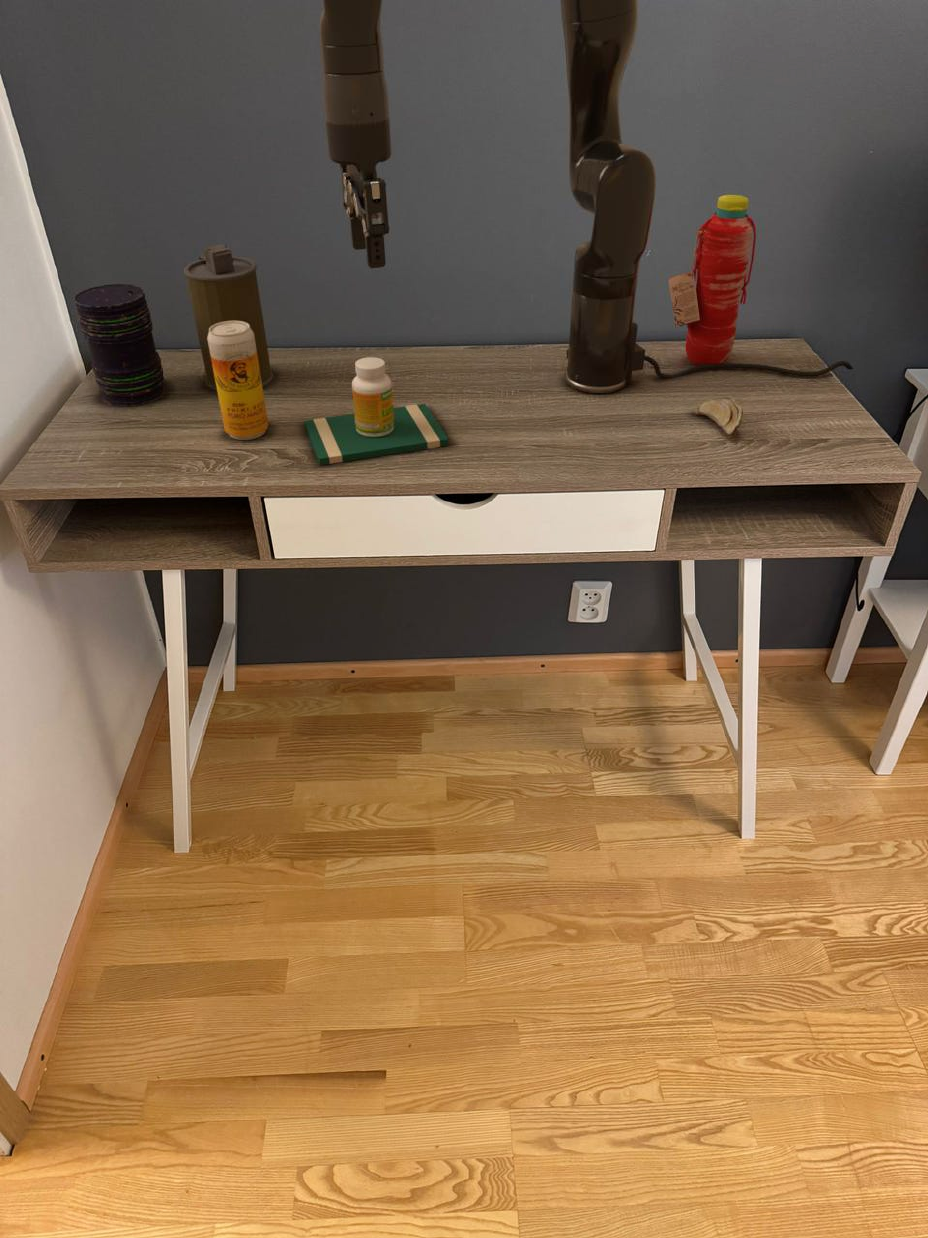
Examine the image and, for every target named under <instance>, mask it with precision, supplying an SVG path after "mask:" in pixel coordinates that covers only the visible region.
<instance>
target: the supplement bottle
mask: <svg viewBox="0 0 928 1238" xmlns="http://www.w3.org/2000/svg"><path fill="white" fill-rule="evenodd" d="M354 369H355V375H356V376H355V377H354V378H353V379H352V382H351V391H352V393H351V394H352V402H353V414H354V415H355V426H356V430H357V432H358V433H359V434H361V435H363V436H366V437H381V436H385V435H388V434H390V433H391V432H392V431H393V429H394V413H393V408H394V400H393V399H394V398H393V384H392V380H391V378H390V376H389V375H388V374H386V362H385V360H384V359H382V358H379V357H375V356H373V357H372V356H369V357H363V358H359V359H357V360H356V361H355V363H354Z"/></svg>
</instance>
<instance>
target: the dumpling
mask: <svg viewBox="0 0 928 1238" xmlns="http://www.w3.org/2000/svg"><path fill="white" fill-rule="evenodd" d="M694 414H696V415H697V416H701V415H703V416H706V417H708V418H709V419H711V420H712V421H714V422H715V423H716V424H717V425H718V426H719V427H721V428H722V430H723V431H724V432H725V434H728V435H729V436H731V437H732V438H734V437H735V435H738V432H737V431H738V430H737V429H739V428H740V426H741V424H742V421H743V417H744V411H743V405H742V404H740V403H738V402H737V401H736V400H735V399H733V398H731V397H717V398H714V399H710V400H709V399H708V400H706V401H704V402H702V403H700V404H698V405H697V406H696V408H695V410H694Z"/></svg>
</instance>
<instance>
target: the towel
mask: <svg viewBox="0 0 928 1238" xmlns="http://www.w3.org/2000/svg"><path fill="white" fill-rule="evenodd" d="M393 413H394V429H393V431H392V432H391V433H390V434H388V435H385V436H381V437H366V436H363V435H361V434H359V433H358V432H357V430H356V426H355V415H354V413H349V414H342V415H334V416H328V417H320V418H313V419H306V420H303V423H304V425H303V426H304V428H305V431H306V433H307V437H308V439H309V441H310V444H311V446H312V448H313V451H314V454H315V456H316V459H317V461H318V465H319V466H324V465H331V464H339V463H344V462H350V461H351V462H352V461H356V460H363V459H369V458H376V457H382V456H389V455H394V454H395V455H396V454H402V453H409V452H415V451H422V450H429V449H436V448H440V447H448V446H449V445H450V439H449V437H448V435H447V434H446V433H445V431H444V430H443V428H442V426H441V425H440V423H439V422H438V420H437V419H436V417H435V416H434V415H433V413H432V412H431V410H430V408H429V407H428V405H427V403H418V404H411V405H410V404H409V405H404V406H398V407H393Z"/></svg>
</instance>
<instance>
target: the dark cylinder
mask: <svg viewBox="0 0 928 1238" xmlns="http://www.w3.org/2000/svg"><path fill="white" fill-rule="evenodd" d="M73 300H74V303H75V306H76V311H77V314H78V321H79V325H80V327H81V330H82V332H81V333H82V335H83V337H84V339H85V340H86V342H87V344H88V348H89V351H90V355H91V359H92V361H91V367H92V372H93V373H94V379H95V382H96V385H97V386H98V389H99V391H100V398H101V399H102V401H103V403H105V404H108V405H110V406H115V407H135V406H140V405H141V406H142V405H146V404H149V403H152V402H154V401H157V400H159V399H160V398H162V397H163V396H164V395H165V394H166V392H167V386H166V383H165V376H164V368H163V365H162V358H161V356H160V354H159V353H158V351H157V349H156V344H155V340H154V336H153V330H154V328H153V322H152V318H151V317H152V316H151V311H150V308H149V306H148V303H147V300H146V294H145V290H144V288H142V287H141V286H139V285H134V284H130V283H129V284H126V283H114V284H105V285H103V284H102V285H97V286H93V287H90V288H86V289H84V290H82V291H80V292H78V293H76V294H75V296H74V297H73Z"/></svg>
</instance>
